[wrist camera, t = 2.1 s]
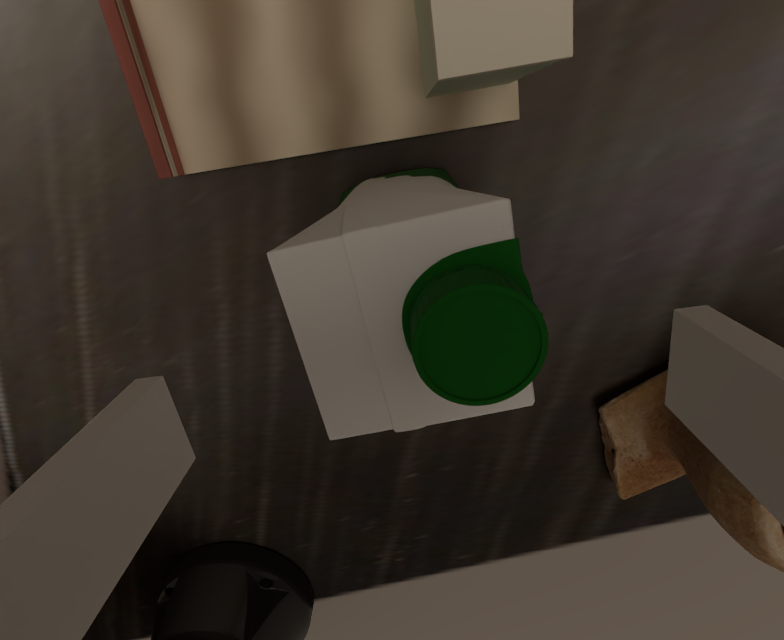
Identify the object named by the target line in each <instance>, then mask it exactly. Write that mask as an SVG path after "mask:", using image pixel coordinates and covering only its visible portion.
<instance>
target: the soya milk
mask: <svg viewBox="0 0 784 640" xmlns="http://www.w3.org/2000/svg"><path fill="white" fill-rule="evenodd" d="M267 257H268V260H269V263H270V266H271V269H272V272H273V275H274V278H275V281H276V283H277V286H278V289H279V292H280V295H281V298H282V301H283V304H284V307H285V310H286V313H287V316H288V319H289V322H290V325H291V328H292V331H293V333H294V336H295V339H296V342H297V345H298V348H299V351H300V354H301V357H302V360H303V363H304V366H305V369H306V372H307V375H308V378H309V381H310V384H311V386H312V389H313V392H314V395H315V398H316V401H317V404H318V407H319V410H320V413H321V416H322V419H323V422H324V425H325V428H326V431H327V434H328V436H329V439H330V440H336V439H342V438H347V437H353V436H358V435H364V434H369V433H375V432H381V431H386V430H392V429H394V431H395V432H403V431H409V430H415V429H419V428H423V427H425V426H427V425H433V424H438V423H444V422H449V421H454V420H459V419H465V418H470V417H475V416H480V415H486V414H491V413H496V412H501V411H506V410H512V409H517V408H522V407H527V406H531V405H533V404H534V402H535V398H534V390H533V383H532V381H533V380H534V378H535V377H536V376H537V374H538V373H539V371H540V370H541V368H542V366H543V364H544V361H545V358H546V355H547V350H548V332H547V327H546V324H545V321H544V319H543V317H542V316H543V315H542V314H541V312H540V311H539V310H538V307H537V306H536V305H535V303H534V302H533V297H532V293H531V289H530V286H529V283H528V281H527V279H526V276H525V274H524V272H523V270H522V264H521V255H520V246H519V238H515V236H514V227H513V217H512V208H511V201H510V199H508V198H503V197H498V196H493V195H488V194H482V193H477V192H472V191H468V190H463V189H459V187H458V186H457V185H456V184H455V182H454V181H453V180H452V179H451V177H450V176H449V175H448V174H447V172H446V171H445V170H444V169H435V168H420V169H413V170H408V171H402V172H397V173H392V174H387V175H382V176H378V177H374V178H370V179H367V180H365V181H362V182H360V183H359V184H357V185H355V186H354V187H352V188H350V189H349V190H347V191H346V192H344V193H343V194H342V197H341V199H340V202H339V204H338V207H337V209H335V210H334V211H332V212H331V213H329V214H328V215H326V216H325V217H323V218H322V219H320V220H319V221H317V222H315V223H314V224H312V225H311V226H309V227H308V228H306V229H305V230H303V231H302V232H300V233H298V234H297V235H295V236H294V237H292V238H291V239H289V240H288V241H286V242H284V243H283V244H281V245H280V246H278V247H277V248H275V249H273V250H271V251H269V252H268V253H267Z"/></svg>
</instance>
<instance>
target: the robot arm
mask: <svg viewBox="0 0 784 640" xmlns="http://www.w3.org/2000/svg"><path fill="white" fill-rule="evenodd" d="M665 405H666V406H667V407H668V408H669V409H670V410H671V411H672V412H673V413H674V414H675V415H676V416H677V417H678V418H679V419H680V421H681V422H682V423H683V424H684V425H685V426H686V427H687V428H688V429H689V430H690V431H691V432H692V433H693V434H694V435H695V436H696V437H697V438H698V439H699V440H700V441H701V442H702V443H703V444H704V445H705V446H706V447H707V448H708V449H709V450H710V451H711V452H712V453H713V454H714V455H715V456H716V457H717V459H718V460H719V461H720V462H721V463H722V464H723V465H724V466H725V467H726V468H727V469H728V470H729V471H730V472H731V473H732V474H733V475H734V476H735V477H736V478H737V479H738V480H739V481H740V482H741V483H742V484H743V485H744V486H745V487H746V488H747V489H748V490H749V491H750V492H751V493H752V494H753V495H754V496H755V498H756V499H757V500H758V501H759V502H760V503H761V504H762V505H763V506H764V507H765V508H766V509H767V510H768V511H769V512H770V513H771V514H772V515H773V516H774V517H775V518H776V519H777V520H778V521H779V522H780V523H781V524H782V525H783V526H784V348H782V347H780V346H779V345H777V344H775V343H773V342H772V341H770V340H768V339H766V338H764V337H763V336H761V335H759V334H757V333H756V332H754V331H752V330H750V329H748V328H747V327H745V326H743V325H741V324H740V323H738V322H736V321H734V320H732V319H731V318H729V317H727V316H725V315H723V314H722V313H720V312H718V311H716V310H715V309H713V308H711V307H709V306H707V305H703V306H695V307H688V308H680V309H674V314H673V324H672V334H671V345H670V355H669V365H668V375H667V386H666V396H665ZM195 459H196V457H195V455H194V452H193V450H192V447H191V445H190V442H189V440H188V437H187V435H186V433H185V430H184V428H183V425H182V423H181V420H180V418H179V415H178V413H177V410H176V408H175V405H174V403H173V400H172V398H171V395H170V393H169V390H168V388H167V385H166V383H165V380H164V378H163V376H157V377H149V378H142V379H135V380H134V381H133V382H132V383H131V384H130V385H129V386H128V387H127V388H126V389H124V390H123V391H122V392H121V393H120V394H119V395H118V396H117V397H116V398H115V399H114V400H113V401H112V402H111V403H109V404H108V405H107V406H106V407H105V408H104V409H103V410H102V411H101V412H100V413H99V414H98V415H97V416H95V417H94V418H93V419H92V420H91V421H90V422H89V423H88V424H87V425H86V426H85V427H84V428H83V429H81V430H80V431H79V432H78V433H77V434H76V435H75V436H74V437H73V438H72V439H71V440H70V441H69V442H67V443H66V444H65V445H64V446H63V447H62V448H61V449H60V450H59V451H58V452H57V453H56V454H55V455H54V456H52V457H51V458H50V459H49V460H48V461H47V462H46V463H45V464H44V465H43V466H42V467H41V468H40V469H38V470H37V471H36V472H35V473H34V474H33V475H32V476H31V477H30V478H29V479H28V480H27V481H26V482H24V483H23V484H22V485H21V486H20V487H19V488H18V489H17V490H16V491H15V492H14V493H13V494H12V495H10V496H9V497H8V498H7V499H6V500H5V501H4V502H3V503H2V504H1V505H0V640H82V638H83V637H84V635H85V633H86V632H87V630H88V629H89V627H90V625H91V624H92V622H93V621H94V619H95V617H96V616H97V614H98V613H99V611H100V610H101V608H102V606H103V605H104V603H105V602H106V600H107V598H108V597H109V595H110V594H111V592H112V590H113V589H114V587H115V586H116V584H117V583H118V581H119V579H120V578H121V576H122V575H123V573H124V571H125V570H126V568H127V567H128V565H129V563H130V562H131V560H132V559H133V557H134V556H135V554H136V552H137V551H138V549H139V548H140V546H141V544H142V543H143V541H144V540H145V538H146V536H147V535H148V533H149V532H150V530H151V528H152V527H153V525H154V524H155V522H156V521H157V519H158V517H159V516H160V514H161V513H162V511H163V509H164V508H165V506H166V505H167V503H168V501H169V500H170V498H171V497H172V495H173V494H174V492H175V490H176V489H177V487H178V486H179V484H180V482H181V481H182V479H183V478H184V476H185V474H186V473H187V471H188V470H189V468H190V467H191V465H192V463H193V462H194V460H195ZM313 604H314V597H313V591H312V588H311V585H310V583H309V581H308V580H307V578H306V577H305V575H304V574H303V573H302V572H301V571H300V570H299V569H298V568H297V567H296V566H295V565H294V564H293V563H291V562H290V561H289V560H287V559H286V558H284V557H282V556H281V555H279V554H277V553H274V552H272V551H270V550H267V549H264V548H261V547H258V546H254V545H249V544H241V543H218V544H212V545H207V546H203V547H200V548H198V549H195V550H193V551H191V552H189V553H187V554H186V555H184V556H183V557H182V558H181V559H179V560H178V561H177V563H176V564H175V565H174V566H173V568H172V570H171V571H170V573H169V575H168V577H167V579H166V581H165V583H164V585H163V587H162V589H161V592H160V595H159V598H158V603H157V608H156V614H155V620H154V626H153V631H152V637H151V640H304V638H305V637H306V634H307V632H308V629H309V626H310V621H311V615H312V610H313Z"/></svg>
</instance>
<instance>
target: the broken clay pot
mask: <svg viewBox="0 0 784 640" xmlns="http://www.w3.org/2000/svg"><path fill="white" fill-rule="evenodd" d="M667 375H668V369H667V370H665V371H663V372H661V373H659V374H657V375H656V376H654V377H652V378H650V379H648V380H646V381H645V382H643V383H641V384H639V385H637V386H636V387H634V388H632V389H630V390H628V391H626V392H625V393H623V394H621V395H619V396H617V397H615V398H613V399H611V400H610V401H608V402H607V403H605V404H603V405H602V406H600V408H599V410H598V411H599V413H600V420H599V425H600V427H601V433H602V436H601V437H602V441H603V443H604V445H605V449H604V453H605V460H606V464H607V467H608V469H609V472H610V476H611V479H612V481H613V483H614V485H615V489H616V491H617V494H618V496H619V497H620V498H621V499H624V500H625V499H627V498H630V497H632V496H635V495H637V494H639V493H642V492H644V491H647V490H649V489H652V488H654V487H656V486H659V485H661V484H664V483H667V482H669V481H671V480H674V479H676V478H678V477H680V476H682V475H685V474H687V476H688V478H689V479H690V481H691V483H692V485H693V486H694V488H695V490H696V491H697V493H698V495H699V496H700V498H701V500H702V501H703V503H704V505H705V506H706V508H707V509H708V511H709V512H710V514H711V515H712V516H713V517H714V518H715V520H716V521H717V522H718V523H719V524H720V525H721V526H722V528H723V529H724V530H725V531H726V532H727V533H728V534H729V535H730V536H731V537H732V538H733V539H735V541H737V542H738V543H739V544H740V545H741V546H742V547H743V548H744V549H745V550H747V551H748V552H749V553H750V554H752V555H753V556H754V557H756V558H757V559H759V560H761V561H762V562H764V563H766V564H768V565H770V566H772V567H774V568H776V569H778V570H780V571H783V572H784V526H783V525H782V524H781V523H780V522H779V521H778V520H777V519H776V518H775V517H774V516H773V515H772V514H771V513H770V512H769V511H768V510H767V509H766V508H765V507H764V506H763V505H762V504H761V503H760V502H759V501H758V500H757V499H756V498H755V496H754V495H753V494H752V493H751V492H750V491H749V490H748V489H747V488H746V487H745V486H744V485H743V484H742V483H741V482H740V481H739V480H738V479H737V478H736V477H735V476H734V475H733V474H732V473H731V472H730V471H729V470H728V469H727V468H726V467H725V466H724V465H723V464H722V463H721V462H720V461H719V460H718V459H717V457H716V456H715V455H714V454H713V453H712V452H711V451H710V450H709V449H708V448H707V447H706V446H705V445H704V444H703V443H702V442H701V441H700V440H699V439H698V438H697V437H696V436H695V435H694V434H693V433H692V432H691V431H690V430H689V429H688V428H687V427H686V426H685V425H684V424H683V423H682V422H681V421H680V419H679V418H678V417H677V416H676V415H675V414H674V413H673V412H672V411H671V410H670V409H669V408H668V407H667V406H666V405H665V396H666V386H667Z"/></svg>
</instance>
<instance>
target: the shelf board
mask: <svg viewBox="0 0 784 640" xmlns="http://www.w3.org/2000/svg"><path fill="white" fill-rule="evenodd" d="M99 3H100V6H101V9H102V12H103V15H104V18H105V21H106V24H107V27H108V30H109V33H110V35H111V38H112V41H113V44H114V47H115V50H116V53H117V56H118V59H119V62H120V65H121V68H122V71H123V74H124V77H125V80H126V83H127V86H128V89H129V92H130V95H131V98H132V101H133V103H134V106H135V109H136V112H137V115H138V118H139V121H140V124H141V127H142V130H143V133H144V136H145V139H146V142H147V145H148V148H149V151H150V154H151V157H152V160H153V163H154V166H155V169H156V171H157V174H158V177H159V179H163V178H169V177H175V176H180V175H186V174H192V173H198V172H204V171H210V170H216V169H222V168H228V167H234V166H240V165H246V164H252V163H258V162H264V161H270V160H276V159H282V158H288V157H294V156H300V155H306V154H312V153H318V152H324V151H330V150H336V149H343V148H349V147H355V146H361V145H367V144H373V143H379V142H385V141H391V140H397V139H403V138H409V137H415V136H421V135H427V134H433V133H439V132H445V131H451V130H457V129H463V128H469V127H475V126H481V125H487V124H493V123H499V122H506V121H512V120H518V119H519V96H518V80H517V81H514V82H512V83H510V84H506V85H500V86H494V87H488V88H482V89H476V90H471V91H465V92H459V93H453V94H447V95H441V96H436V97H430V98H425V93H424V84H423V75H422V66H421V57H420V48H419V39H418V30H417V22H416V13H415V4H414V0H99Z"/></svg>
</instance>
